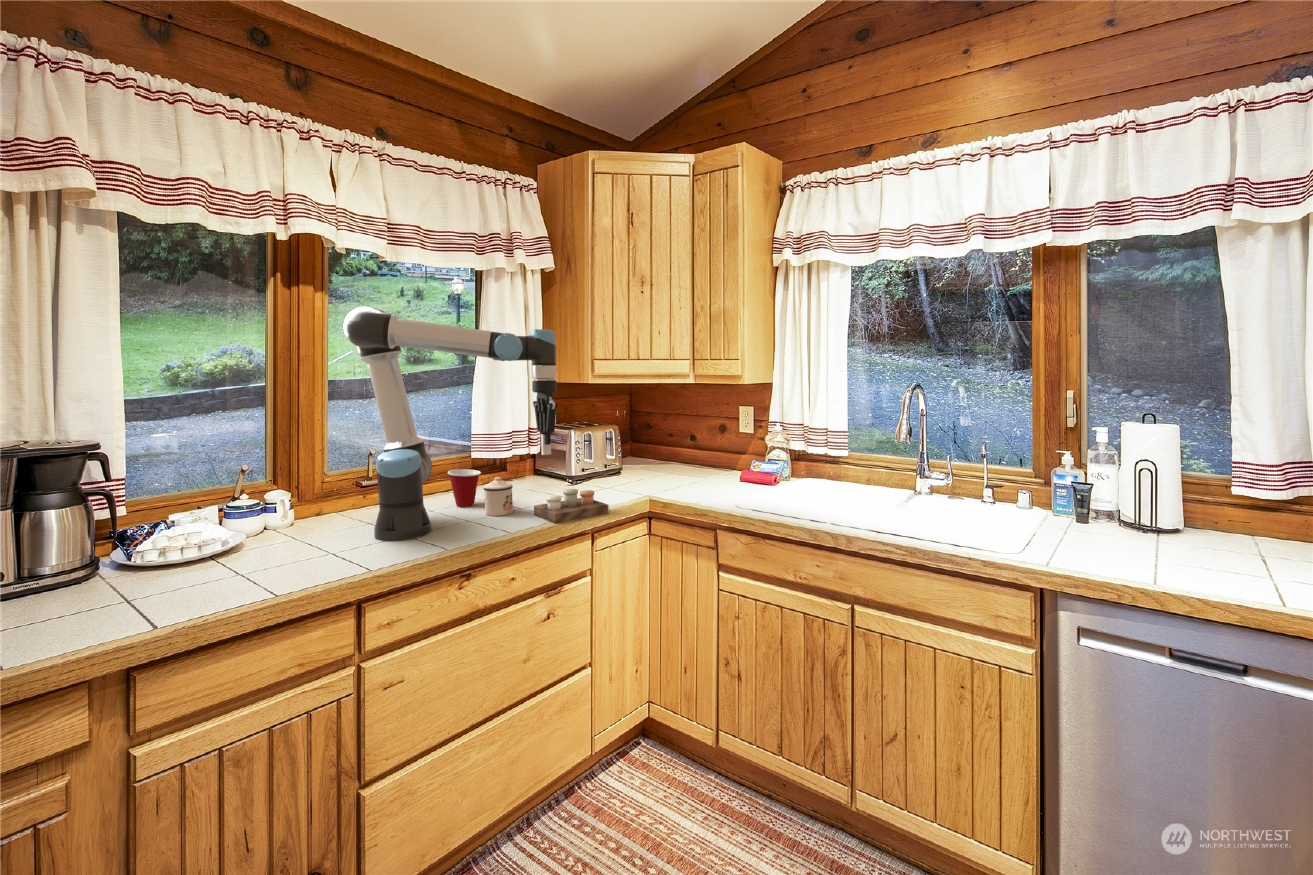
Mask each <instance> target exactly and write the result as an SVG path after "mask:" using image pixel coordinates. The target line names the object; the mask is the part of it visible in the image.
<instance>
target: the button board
mask: <svg viewBox="0 0 1313 875" xmlns="http://www.w3.org/2000/svg"><path fill="white" fill-rule="evenodd" d="M593 500H594V503H593V504H587V505H584V504H581V497H579V498H578V497H577V506H575V507H570V508H567V507H565V500H561V501H560V502H561V509H558V510H553V511H550V510H548V503H544V504H536V505H533V515H534V516H535V517H538V518H541V519H542V520H545V521H548V522H550V523H553V524H554V525H555V524H556V525H557V524H561V523H567V522H573V521H578V520H582V519H588V518H594V517H598V516H603V515H609V504H608V503H604V502H601V501H598V500H596V499H593Z"/></svg>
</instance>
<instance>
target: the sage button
mask: <svg viewBox="0 0 1313 875" xmlns="http://www.w3.org/2000/svg"><path fill="white" fill-rule="evenodd" d="M578 494H579V489H576V488H567V489H563V494H562V495H563V496H564V501H565V507H567V508H570V507H575V506H577V499H578Z"/></svg>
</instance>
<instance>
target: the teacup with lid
mask: <svg viewBox="0 0 1313 875" xmlns="http://www.w3.org/2000/svg"><path fill="white" fill-rule="evenodd" d="M513 487H514V486H513V484H512V483H510V482H507V481H505V480H503V479H502V478H501V477H500V476H496V477H494V480H492V481H490V482H489V483H487V484H484V485H483V490H484V492H483V493H484V509H485V510H484V511H485V515H487V516H490V517H501V516H507V515H511V514H512V513H513V511H514V506H513V502H514V501H513Z"/></svg>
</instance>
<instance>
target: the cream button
mask: <svg viewBox="0 0 1313 875" xmlns="http://www.w3.org/2000/svg"><path fill="white" fill-rule="evenodd" d="M560 501H562V496H561V495H547V496H546V502H547V503H546V504H548V510H550V511H553V510H558V509H561V502H560Z"/></svg>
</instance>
